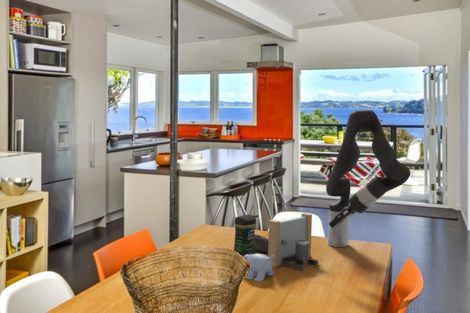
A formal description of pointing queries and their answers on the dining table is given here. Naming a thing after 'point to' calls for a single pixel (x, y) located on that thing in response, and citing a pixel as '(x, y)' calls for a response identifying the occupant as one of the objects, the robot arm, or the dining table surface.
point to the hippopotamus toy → (259, 266)
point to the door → (288, 237)
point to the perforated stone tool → (261, 243)
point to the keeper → (291, 263)
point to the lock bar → (302, 252)
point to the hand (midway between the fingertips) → (334, 223)
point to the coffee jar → (245, 234)
